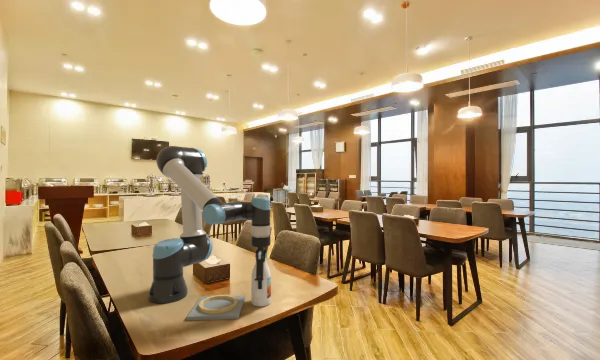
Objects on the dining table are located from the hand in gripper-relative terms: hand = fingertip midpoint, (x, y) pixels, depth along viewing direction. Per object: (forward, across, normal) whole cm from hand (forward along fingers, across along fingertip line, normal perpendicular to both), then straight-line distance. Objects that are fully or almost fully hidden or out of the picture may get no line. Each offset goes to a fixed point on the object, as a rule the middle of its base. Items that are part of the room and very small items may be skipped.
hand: (261, 291), depth 117 cm
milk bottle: (+5, 0, 0) cm, 5 cm away
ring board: (+4, -4, +16) cm, 17 cm away
